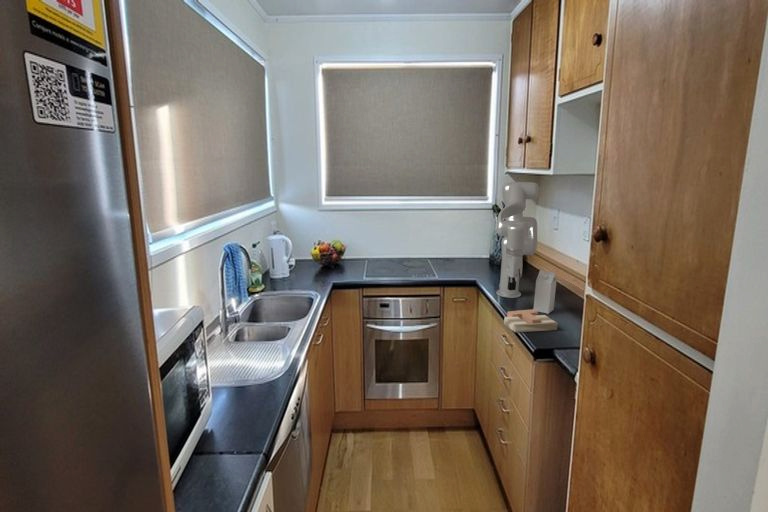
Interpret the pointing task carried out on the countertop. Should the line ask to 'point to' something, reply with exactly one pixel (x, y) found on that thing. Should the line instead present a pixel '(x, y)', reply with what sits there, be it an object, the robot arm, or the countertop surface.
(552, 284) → the milk carton
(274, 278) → the countertop surface
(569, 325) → the countertop surface
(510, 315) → the t block
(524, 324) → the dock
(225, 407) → the countertop surface
